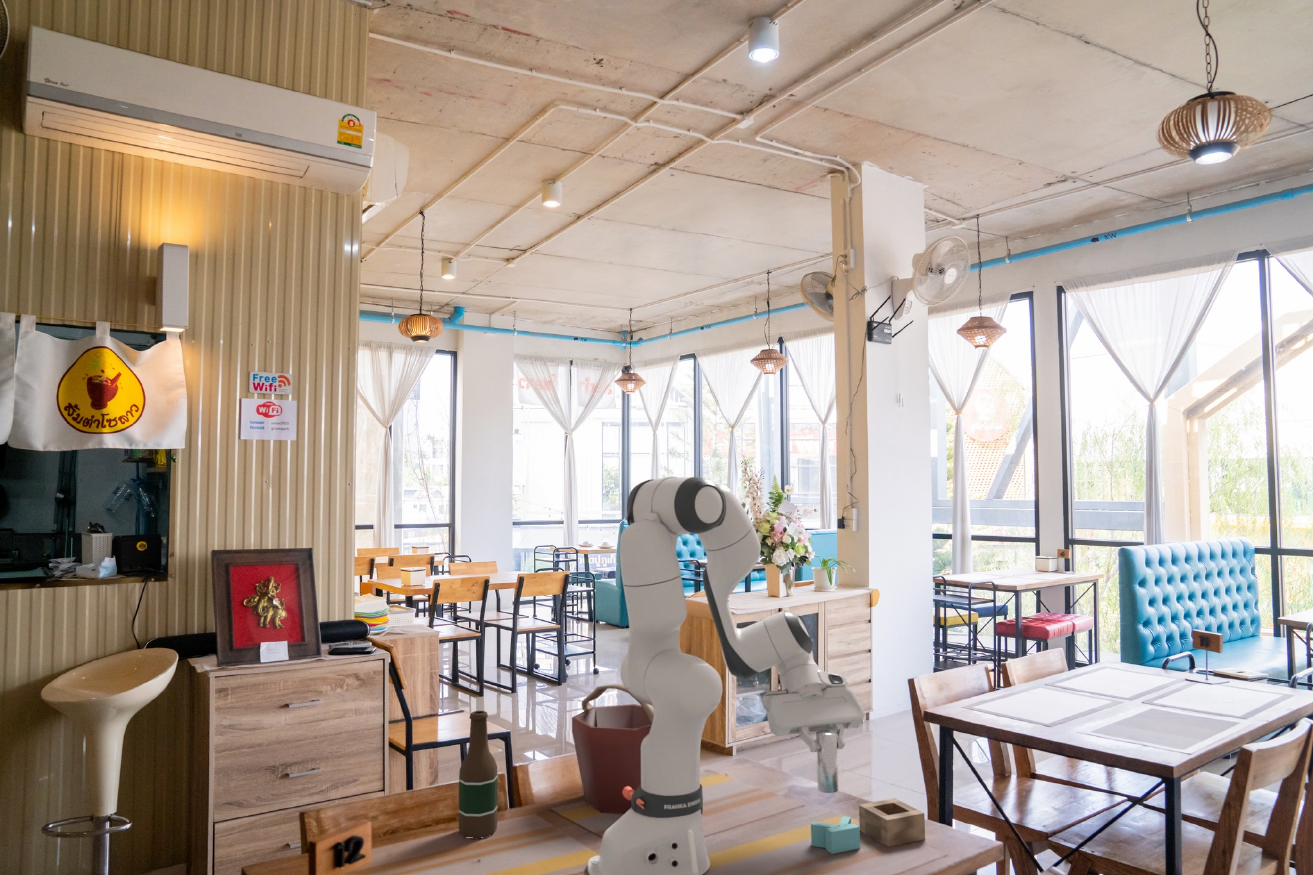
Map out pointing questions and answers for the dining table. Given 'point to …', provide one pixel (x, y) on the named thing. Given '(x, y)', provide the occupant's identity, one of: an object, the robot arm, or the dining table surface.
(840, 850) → the teal V-block
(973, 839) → the dining table surface
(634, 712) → the bucket
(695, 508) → the robot arm
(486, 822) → the beer bottle
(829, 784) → the steel axle
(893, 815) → the walnut block
